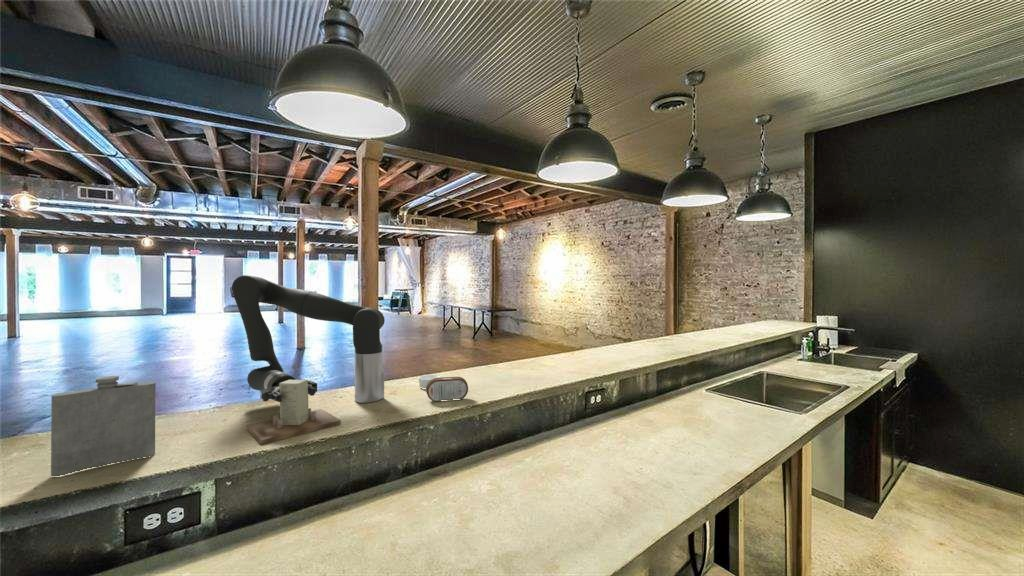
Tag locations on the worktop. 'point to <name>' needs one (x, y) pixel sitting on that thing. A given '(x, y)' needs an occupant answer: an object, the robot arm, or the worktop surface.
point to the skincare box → (294, 402)
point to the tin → (447, 388)
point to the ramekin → (426, 380)
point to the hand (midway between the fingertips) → (297, 395)
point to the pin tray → (291, 426)
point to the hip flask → (102, 425)
